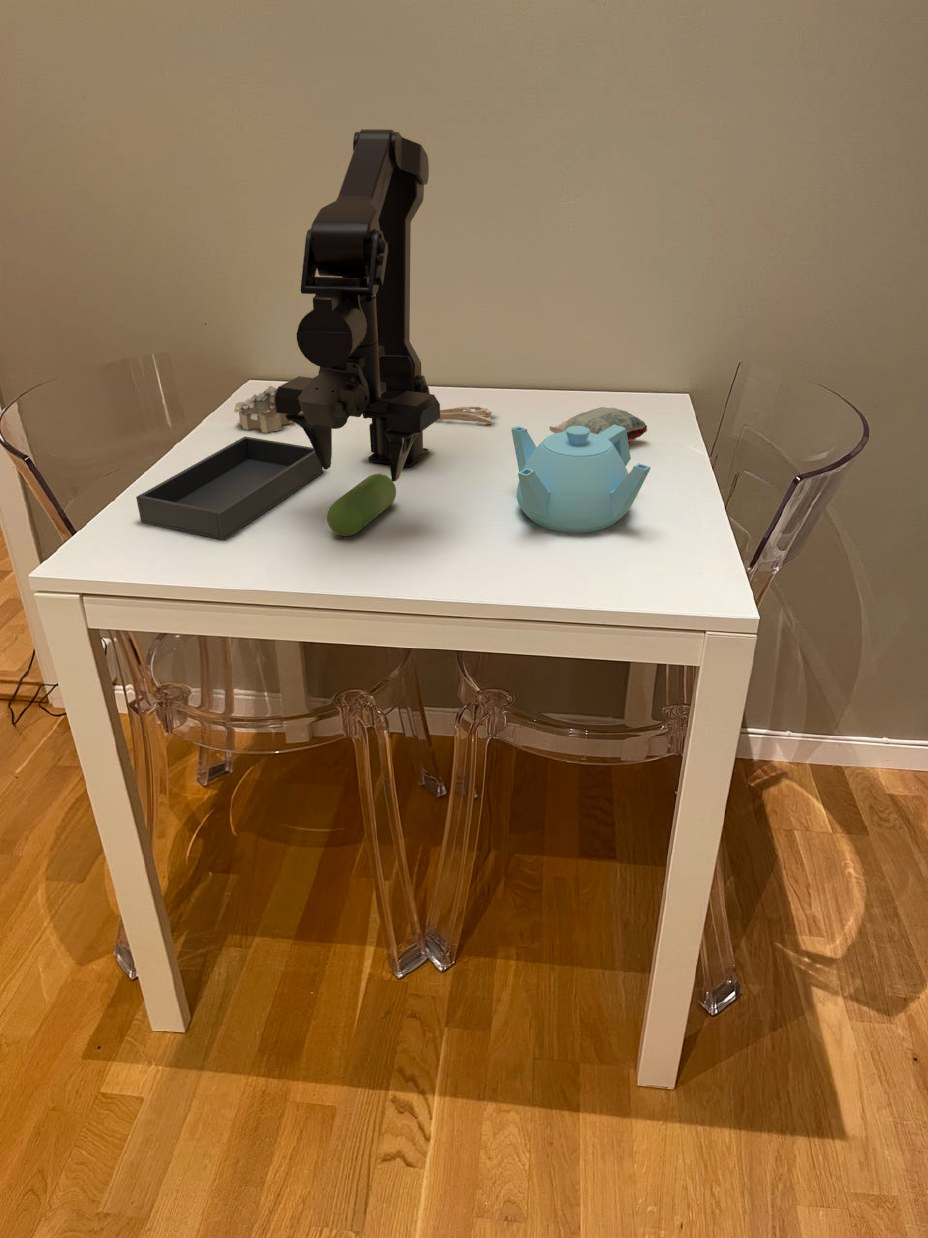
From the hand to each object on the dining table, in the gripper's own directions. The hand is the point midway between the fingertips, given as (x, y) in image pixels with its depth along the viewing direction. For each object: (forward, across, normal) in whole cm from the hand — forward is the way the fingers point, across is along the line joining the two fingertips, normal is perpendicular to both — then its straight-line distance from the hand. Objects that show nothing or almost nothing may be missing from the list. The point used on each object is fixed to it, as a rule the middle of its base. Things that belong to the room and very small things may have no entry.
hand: (360, 474), depth 111 cm
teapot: (+6, +22, +12) cm, 26 cm away
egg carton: (+6, -30, +26) cm, 40 cm away
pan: (+6, -18, 0) cm, 19 cm away
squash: (+6, 0, 0) cm, 6 cm away
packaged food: (+6, +19, +36) cm, 41 cm away
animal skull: (+6, -7, +36) cm, 37 cm away
